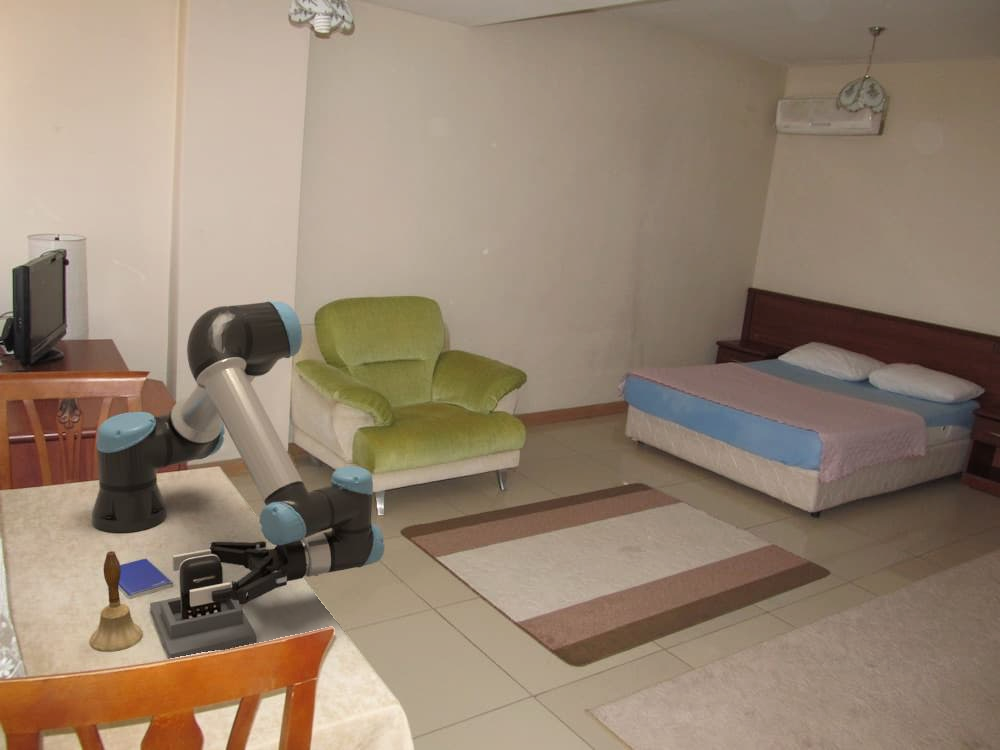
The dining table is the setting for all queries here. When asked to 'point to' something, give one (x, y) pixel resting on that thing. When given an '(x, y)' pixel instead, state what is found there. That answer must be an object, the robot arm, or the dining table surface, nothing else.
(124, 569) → the hard drive
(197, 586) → the battery charger
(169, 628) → the dock
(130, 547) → the dining table surface
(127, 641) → the hand bell
